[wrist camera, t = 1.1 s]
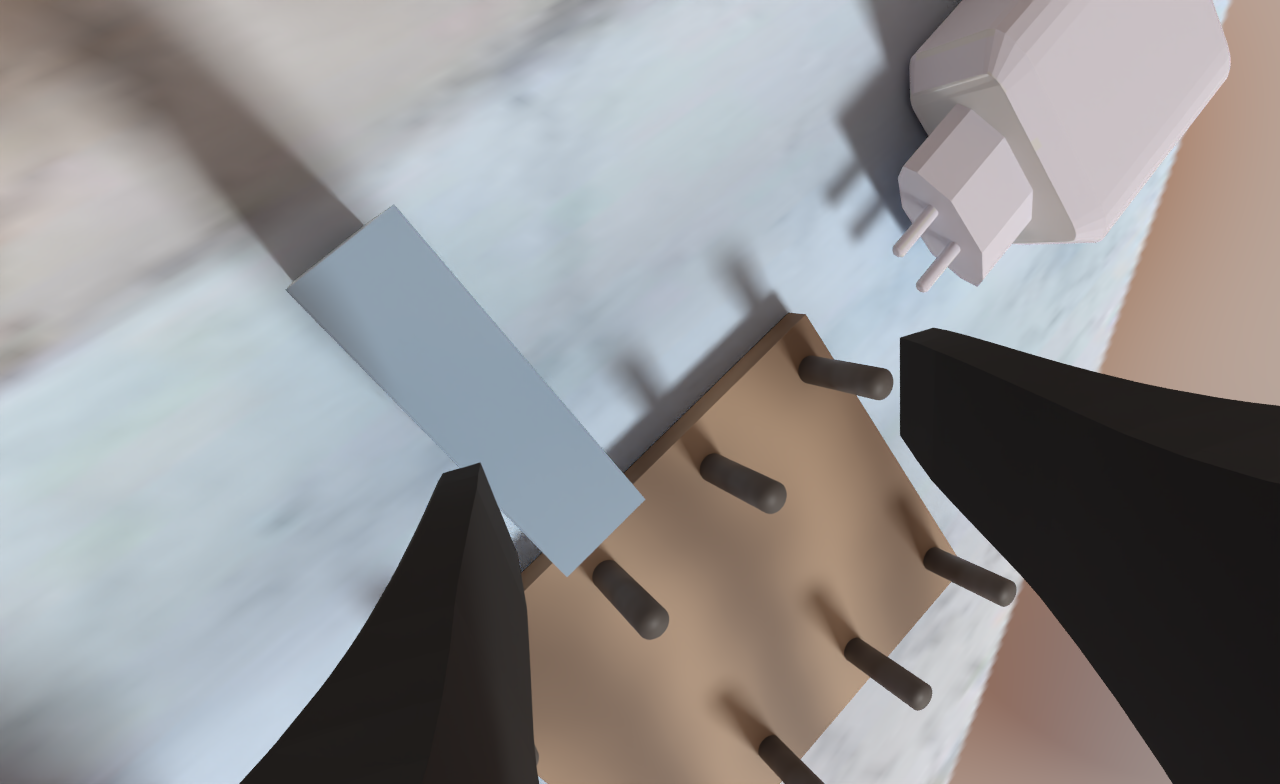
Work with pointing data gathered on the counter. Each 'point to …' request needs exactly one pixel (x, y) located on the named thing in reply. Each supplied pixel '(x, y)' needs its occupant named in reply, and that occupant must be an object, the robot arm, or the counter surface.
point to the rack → (741, 585)
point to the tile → (467, 386)
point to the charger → (1048, 120)
